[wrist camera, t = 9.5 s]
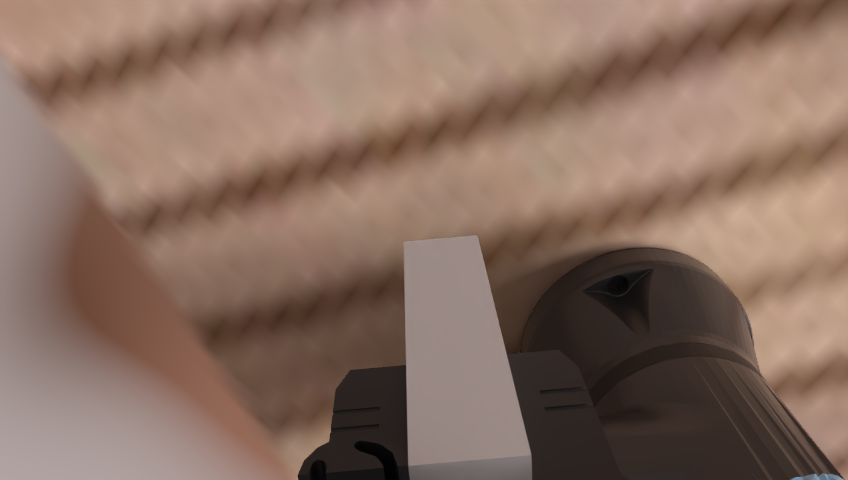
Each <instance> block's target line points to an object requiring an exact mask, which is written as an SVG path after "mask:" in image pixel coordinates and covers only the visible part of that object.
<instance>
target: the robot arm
mask: <svg viewBox="0 0 848 480" xmlns="http://www.w3.org/2000/svg"><path fill="white" fill-rule="evenodd" d="M404 287H405V335H406V365H403V366H392V367H381V368H369V369H358V370H350V371H349V373H348V374H347V375H346V377H345V378H344V379H343V381H342V382H341V383H340V385H339V386H338V387H337V389H336V393H335V400H334V408H333V416H332V424H331V433H330V440H329V442H328V443H326V444H324V445H322V446H320V447H318V448H317V449H316V450H315V451H314V452H313V453H312V454H311V455H310V456H308V457H307V458H306V459H305V460H304V462H303V465H302V467H301V469H300V471H299V474H298V480H845V479H844V478H843V477H842V476H841V474H840V473H839V472H838V471H837V469H836V468H835V467H834V466H833V464H832V463H831V462H830V461H829V459H828V458H827V457H826V456H825V454H824V453H823V452H822V451H821V449H820V448H819V447H818V446H817V444H816V443H815V442H814V441H813V439H812V438H811V437H810V436H809V434H808V433H807V432H806V431H805V429H804V428H803V427H802V426H801V424H800V423H799V422H798V421H797V419H796V418H795V417H794V416H793V414H792V413H791V412H790V411H789V409H788V408H787V407H786V406H785V404H784V403H783V402H782V400H781V399H780V398H779V397H778V395H777V394H776V393H775V392H774V390H773V389H772V388H771V387H770V385H769V384H768V383H767V382H766V380H765V379H764V378H763V377H762V375H761V374H760V370H759V366H758V362H757V358H756V354H755V350H754V341H753V334H752V329H751V325H750V322H749V319H748V317H747V314H746V312H745V310H744V308H743V306H742V304H741V303H740V301H739V300H738V298H737V297H736V296H735V294H734V293H733V292H732V291H731V290H730V289H729V287H728V286H727V285H726V284H725V283H724V282H723V280H722V279H721V278H720V277H719V276H718V275H717V274H716V273H715V272H714V271H712V270H711V269H710V268H708V267H707V266H706V265H704V264H703V263H701V262H699V261H697V260H695V259H693V258H691V257H689V256H686V255H684V254H680V253H677V252H673V251H669V250H663V249H653V248H639V249H628V250H622V251H617V252H613V253H609V254H606V255H603V256H600V257H597V258H595V259H592V260H590V261H588V262H586V263H584V264H582V265H580V266H578V267H577V268H575V269H574V270H572V271H570V272H569V273H568V274H566V275H565V276H563V277H562V278H561V279H560V280H559V281H557V282H556V283H555V284H554V285H553V286H552V287H551V288H550V289H549V290H548V291H547V292H546V294H545V295H544V296H543V297H542V298H541V300H540V301H539V302H538V304H537V305H536V307H535V309H534V310H533V312H532V314H531V316H530V318H529V320H528V322H527V325H526V328H525V331H524V335H523V339H522V346H521V353H516V354H506V350H505V345H504V341H503V337H502V333H501V329H500V325H499V321H498V317H497V313H496V309H495V305H494V301H493V297H492V293H491V289H490V284H489V280H488V276H487V272H486V268H485V264H484V260H483V256H482V252H481V248H480V244H479V240H478V236H477V235H472V236H461V237H450V238H438V239H427V240H416V241H404Z"/></svg>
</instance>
